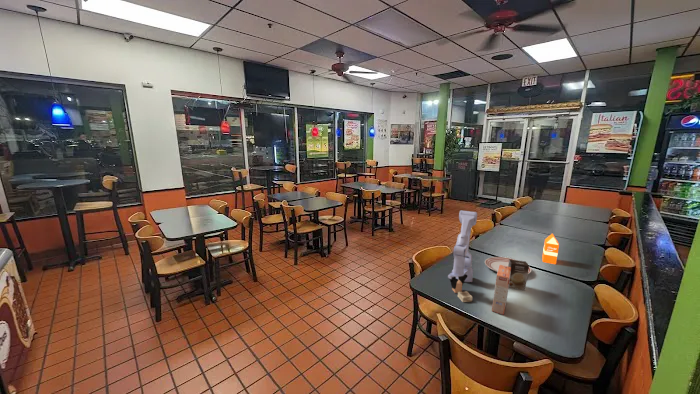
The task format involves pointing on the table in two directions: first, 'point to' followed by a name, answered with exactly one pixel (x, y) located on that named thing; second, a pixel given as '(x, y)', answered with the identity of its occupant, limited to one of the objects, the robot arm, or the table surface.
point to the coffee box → (518, 274)
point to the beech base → (465, 296)
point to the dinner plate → (499, 263)
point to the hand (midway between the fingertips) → (457, 286)
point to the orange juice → (550, 250)
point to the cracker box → (501, 289)
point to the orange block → (458, 287)
